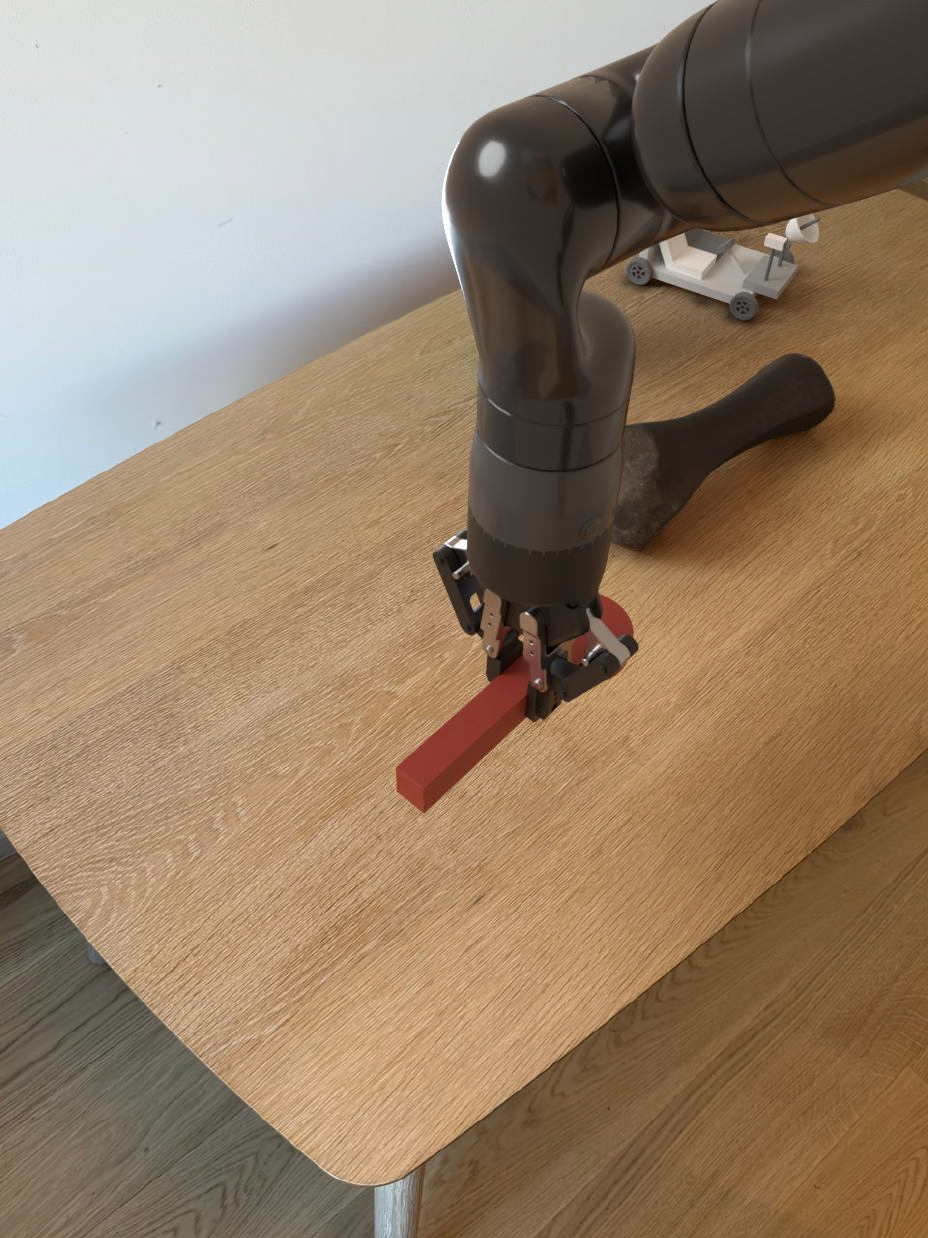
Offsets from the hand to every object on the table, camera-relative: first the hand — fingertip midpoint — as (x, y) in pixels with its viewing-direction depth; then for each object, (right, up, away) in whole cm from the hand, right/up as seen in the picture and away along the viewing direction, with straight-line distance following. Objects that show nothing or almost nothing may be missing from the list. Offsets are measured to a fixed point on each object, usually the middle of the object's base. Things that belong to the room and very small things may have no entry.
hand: (521, 698), depth 68 cm
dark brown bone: (+18, +18, +34) cm, 43 cm away
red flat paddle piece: (0, 0, 0) cm, 1 cm away
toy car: (+25, +43, +55) cm, 74 cm away
